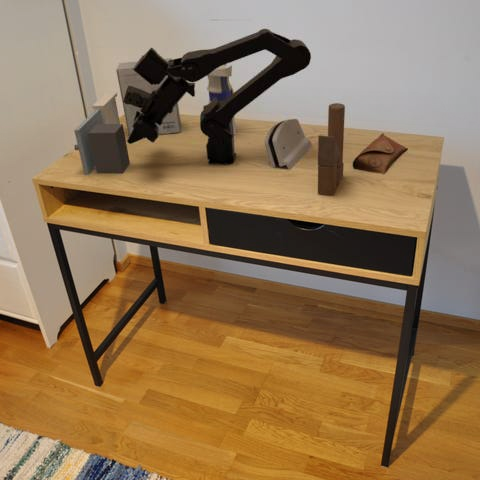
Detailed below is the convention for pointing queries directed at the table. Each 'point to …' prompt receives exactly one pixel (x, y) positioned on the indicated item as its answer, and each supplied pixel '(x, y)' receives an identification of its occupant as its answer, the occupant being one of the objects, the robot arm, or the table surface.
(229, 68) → the water bottle
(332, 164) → the wooden block
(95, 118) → the door
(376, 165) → the sunglasses case
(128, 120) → the hard drive box
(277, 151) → the hinge
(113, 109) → the wall frame
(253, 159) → the table surface
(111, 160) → the doorstop block
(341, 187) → the table surface
